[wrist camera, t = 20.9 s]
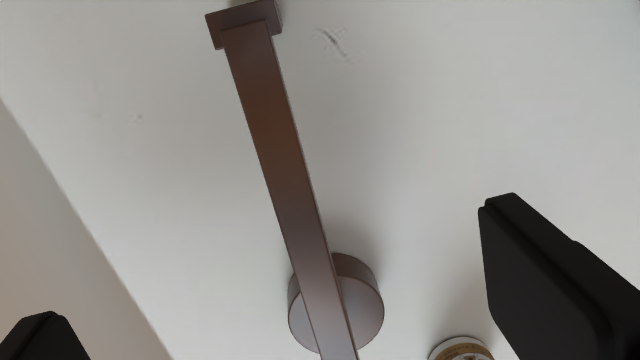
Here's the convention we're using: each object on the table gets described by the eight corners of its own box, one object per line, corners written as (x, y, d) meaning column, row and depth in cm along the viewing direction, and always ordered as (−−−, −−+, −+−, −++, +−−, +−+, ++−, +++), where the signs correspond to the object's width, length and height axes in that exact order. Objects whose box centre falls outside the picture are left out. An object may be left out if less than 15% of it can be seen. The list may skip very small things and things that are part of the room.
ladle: (384, 317, 29) (417, 419, 21) (300, 338, 29) (305, 447, 22) (308, -8, 21) (320, -17, 14) (196, 21, 21) (152, 27, 14)
